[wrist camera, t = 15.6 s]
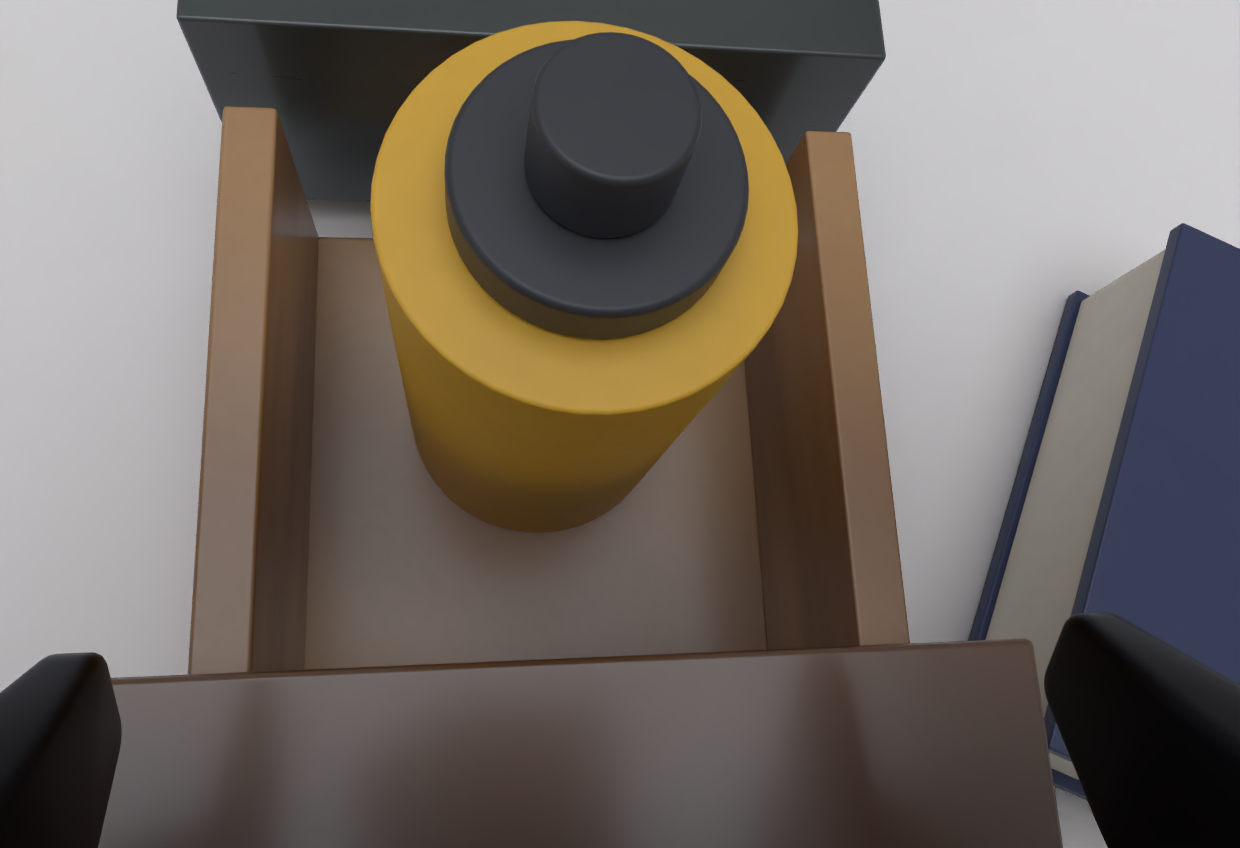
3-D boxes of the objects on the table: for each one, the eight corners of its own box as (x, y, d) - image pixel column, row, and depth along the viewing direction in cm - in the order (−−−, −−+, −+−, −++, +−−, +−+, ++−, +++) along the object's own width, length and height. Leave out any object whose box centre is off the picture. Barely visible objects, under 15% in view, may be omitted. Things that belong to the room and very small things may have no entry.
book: (1279, 883, 21) (1460, 927, 17) (940, 736, 21) (1048, 748, 17) (1359, 428, 24) (1528, 380, 20) (1068, 295, 24) (1183, 221, 20)
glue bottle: (687, 341, 20) (915, -9, 10) (617, 566, 18) (798, 428, 8) (461, 261, 20) (459, -185, 10) (373, 485, 18) (260, 239, 8)
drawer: (265, -28, 22) (197, -270, 16) (762, 4, 24) (853, -205, 18) (216, 895, 17) (99, 996, 12) (841, 847, 19) (997, 915, 13)
